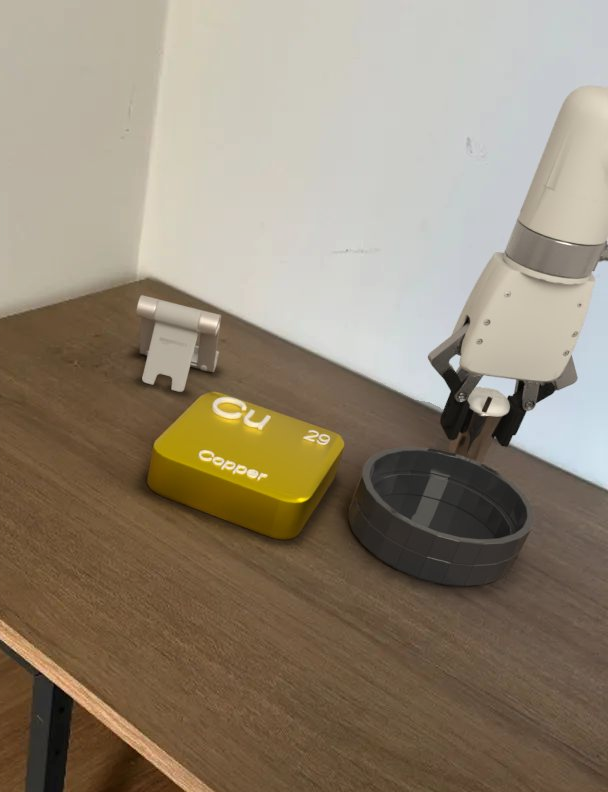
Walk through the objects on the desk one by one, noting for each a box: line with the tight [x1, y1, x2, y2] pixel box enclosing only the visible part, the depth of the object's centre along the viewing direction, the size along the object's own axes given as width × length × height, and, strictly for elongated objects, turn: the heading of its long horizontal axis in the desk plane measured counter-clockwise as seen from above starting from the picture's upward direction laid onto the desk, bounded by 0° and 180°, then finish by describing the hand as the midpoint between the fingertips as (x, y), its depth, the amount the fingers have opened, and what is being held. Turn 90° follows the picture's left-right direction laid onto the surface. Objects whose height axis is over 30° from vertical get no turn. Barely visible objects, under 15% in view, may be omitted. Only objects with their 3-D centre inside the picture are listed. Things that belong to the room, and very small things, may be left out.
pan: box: [347, 446, 536, 587], centre depth 87 cm, size 15×15×5 cm
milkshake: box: [447, 386, 510, 464], centre depth 95 cm, size 4×5×10 cm
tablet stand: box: [135, 294, 222, 393], centre depth 104 cm, size 9×8×8 cm
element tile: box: [146, 391, 345, 541], centre depth 90 cm, size 15×15×5 cm
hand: (474, 434), depth 95 cm, fingers closed on milkshake, 4 cm apart
